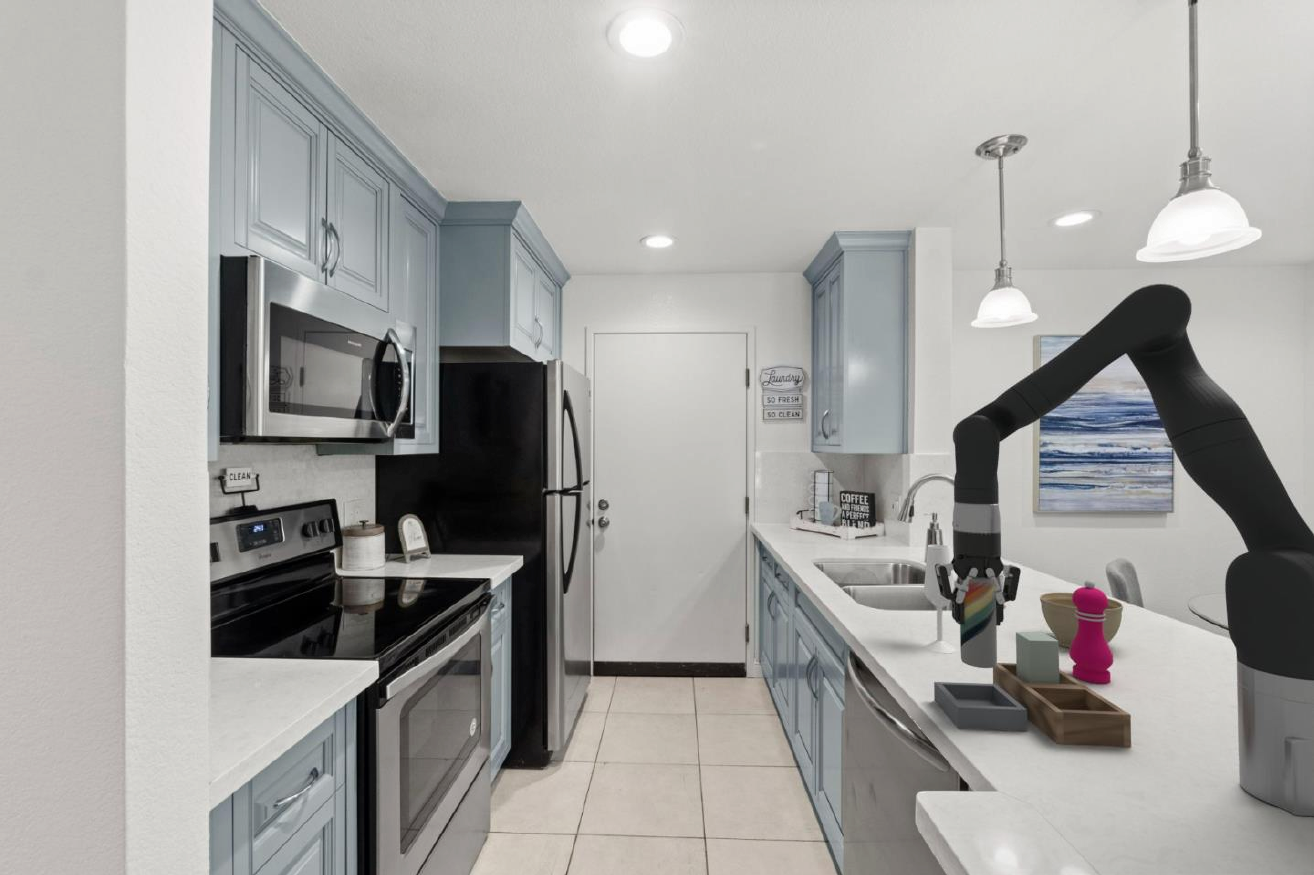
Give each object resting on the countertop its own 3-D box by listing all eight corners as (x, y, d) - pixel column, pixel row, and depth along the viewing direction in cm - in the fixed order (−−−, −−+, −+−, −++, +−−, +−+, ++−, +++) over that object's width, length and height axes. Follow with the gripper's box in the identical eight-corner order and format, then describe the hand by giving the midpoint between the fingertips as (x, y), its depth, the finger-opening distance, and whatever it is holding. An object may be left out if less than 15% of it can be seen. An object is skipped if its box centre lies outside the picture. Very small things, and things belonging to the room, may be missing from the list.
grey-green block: (1059, 707, 108) (1058, 641, 108) (1030, 706, 108) (1029, 640, 109) (1044, 696, 113) (1043, 632, 113) (1016, 695, 113) (1015, 632, 114)
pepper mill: (1121, 686, 118) (1119, 584, 118) (1080, 683, 119) (1078, 583, 119) (1101, 672, 125) (1100, 576, 125) (1063, 670, 126) (1061, 575, 127)
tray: (1027, 731, 99) (1027, 709, 99) (958, 728, 100) (958, 707, 100) (996, 703, 110) (996, 683, 110) (934, 700, 111) (934, 681, 111)
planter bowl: (1055, 631, 153) (1054, 588, 153) (1133, 647, 140) (1132, 601, 140) (1029, 644, 143) (1028, 598, 143) (1111, 662, 130) (1110, 613, 131)
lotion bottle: (964, 655, 109) (963, 546, 110) (1000, 662, 106) (998, 549, 106) (957, 663, 105) (955, 550, 105) (993, 671, 101) (991, 553, 102)
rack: (1131, 746, 94) (1130, 714, 94) (1057, 743, 95) (1056, 711, 95) (1052, 690, 116) (1052, 664, 116) (993, 688, 117) (992, 662, 117)
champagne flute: (918, 646, 141) (917, 545, 142) (935, 642, 145) (934, 543, 145) (945, 655, 136) (943, 549, 136) (962, 649, 139) (960, 546, 140)
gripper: (942, 530, 103) (943, 629, 102) (1030, 531, 101) (1031, 631, 101) (927, 525, 110) (928, 616, 110) (1008, 525, 109) (1010, 618, 108)
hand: (977, 623), depth 105 cm, fingers closed on lotion bottle, 5 cm apart
